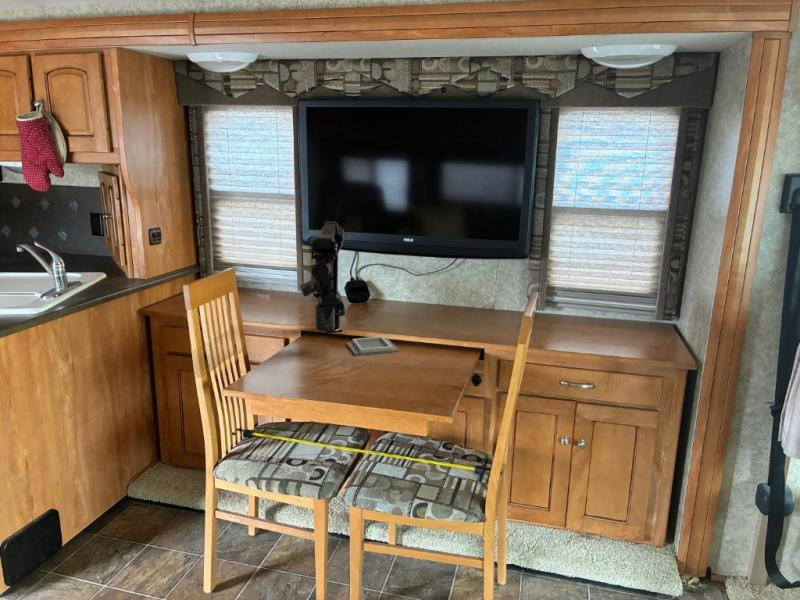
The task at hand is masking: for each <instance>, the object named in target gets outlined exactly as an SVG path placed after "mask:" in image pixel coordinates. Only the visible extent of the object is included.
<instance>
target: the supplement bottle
mask: <svg viewBox="0 0 800 600" xmlns="http://www.w3.org/2000/svg"><path fill="white" fill-rule="evenodd" d="M319 296H320V295H319ZM319 296H318V299H317V303H316V304H315V306H314V328H315V329H316V330H317V331H319V332H326V331H331V330H333V329H334V327H335V318H334V309H333V311H332V313H331V316H330V318H329V319H328V320H326V319H325V314H324V309H323V306H322V305H321V304H320V303H319V301H320V300H319ZM326 333H327V332H326Z"/></svg>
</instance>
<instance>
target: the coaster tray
mask: <svg viewBox="0 0 800 600" xmlns="http://www.w3.org/2000/svg"><path fill="white" fill-rule="evenodd" d="M346 346H347V347H348V348H349V350H350V351H351V353H352V354H353V355H354V356H355V357H357V356H367V355H377V354H388V353H398V352H399V348H397V346H396V345H395V344H394V343H393V342H392V341H391V340H390V339H389V338H384V336H372V337H362V338H361V337H359V338H352V341H347V342H346Z"/></svg>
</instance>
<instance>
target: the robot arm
mask: <svg viewBox="0 0 800 600" xmlns="http://www.w3.org/2000/svg"><path fill="white" fill-rule="evenodd" d="M323 222H324V221H323ZM344 242H345V230H344V228H343V227H341V226H340V225H339V224H338V222H337V221H325V222H324V223H323V226H322V227H321V232H320V234H318V235H316V237H315V238H314V240H313V241H312V245H311V246H312V250H311V256H310V257H311V260H315V264H314V265H313V267H312V269H311V274H312V277H313V280H309V281H307V282H304V283H302V284H300V285H299V290H300V292H301V293H302V295H303V297H307V296H309V295H313V296H314V298H316V299H317V300H318V296H319V295H320V296H319V300H320V301H319V303H320V304H321V305H322V306H323V309H324V314H325V319H326V320H328V319H329V318H330V316H331V313H332V311H333V309H334V318H335V327H334V329H333V330H331V331H334V330H336V329H338V328H339V327H341V317H344V316H345V315H346V307H345V304H344V300H342V299H343V297H342V295H341V292H340V291H339V286H338V285H339V252H340V251H341V249H342V248H343V245H344V244H343V243H344ZM331 331H326V333H332V332H331Z"/></svg>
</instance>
